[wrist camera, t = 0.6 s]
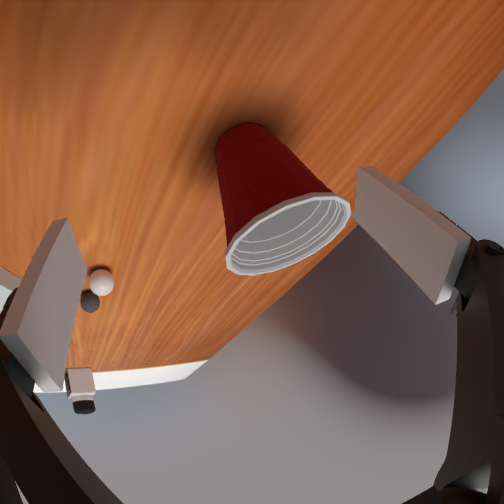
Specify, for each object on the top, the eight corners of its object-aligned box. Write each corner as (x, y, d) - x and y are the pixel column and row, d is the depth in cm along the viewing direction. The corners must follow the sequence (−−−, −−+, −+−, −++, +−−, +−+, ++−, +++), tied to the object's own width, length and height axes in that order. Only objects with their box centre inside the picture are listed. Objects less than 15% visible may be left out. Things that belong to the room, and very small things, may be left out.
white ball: (82, 270, 38) (84, 294, 36) (103, 261, 38) (106, 284, 36) (97, 280, 41) (99, 302, 39) (117, 271, 41) (120, 294, 39)
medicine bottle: (66, 367, 68) (74, 412, 62) (91, 367, 73) (100, 410, 67) (63, 374, 72) (71, 416, 66) (86, 374, 77) (95, 414, 71)
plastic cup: (233, 198, 37) (270, 289, 31) (167, 155, 28) (195, 264, 22) (310, 143, 33) (367, 230, 27) (259, 79, 24) (327, 173, 19)
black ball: (75, 293, 42) (77, 311, 40) (90, 286, 42) (93, 305, 40) (87, 299, 44) (89, 317, 43) (102, 293, 44) (104, 311, 43)
